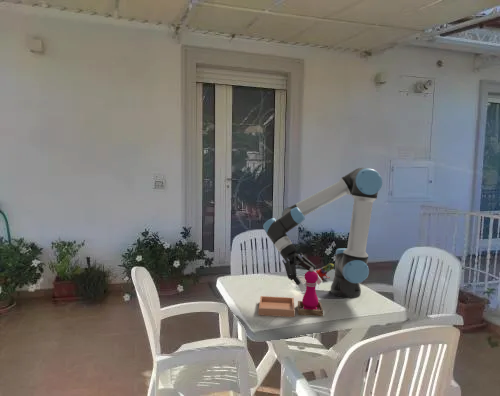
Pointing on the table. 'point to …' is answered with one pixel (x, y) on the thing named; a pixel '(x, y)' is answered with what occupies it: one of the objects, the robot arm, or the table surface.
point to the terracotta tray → (276, 306)
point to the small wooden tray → (309, 311)
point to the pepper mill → (310, 290)
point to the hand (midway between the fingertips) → (312, 286)
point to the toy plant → (324, 270)
